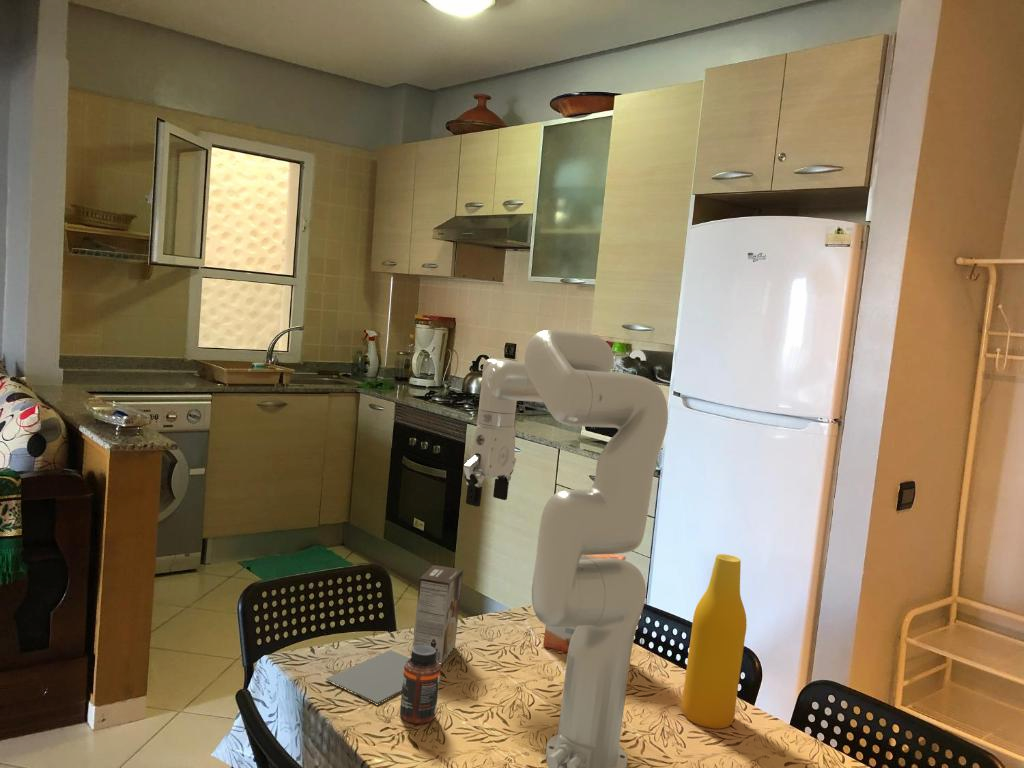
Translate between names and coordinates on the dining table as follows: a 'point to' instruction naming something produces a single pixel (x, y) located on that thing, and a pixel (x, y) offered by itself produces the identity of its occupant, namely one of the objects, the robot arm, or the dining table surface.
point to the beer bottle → (716, 648)
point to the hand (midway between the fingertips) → (486, 501)
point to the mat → (374, 677)
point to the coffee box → (438, 610)
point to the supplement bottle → (420, 685)
